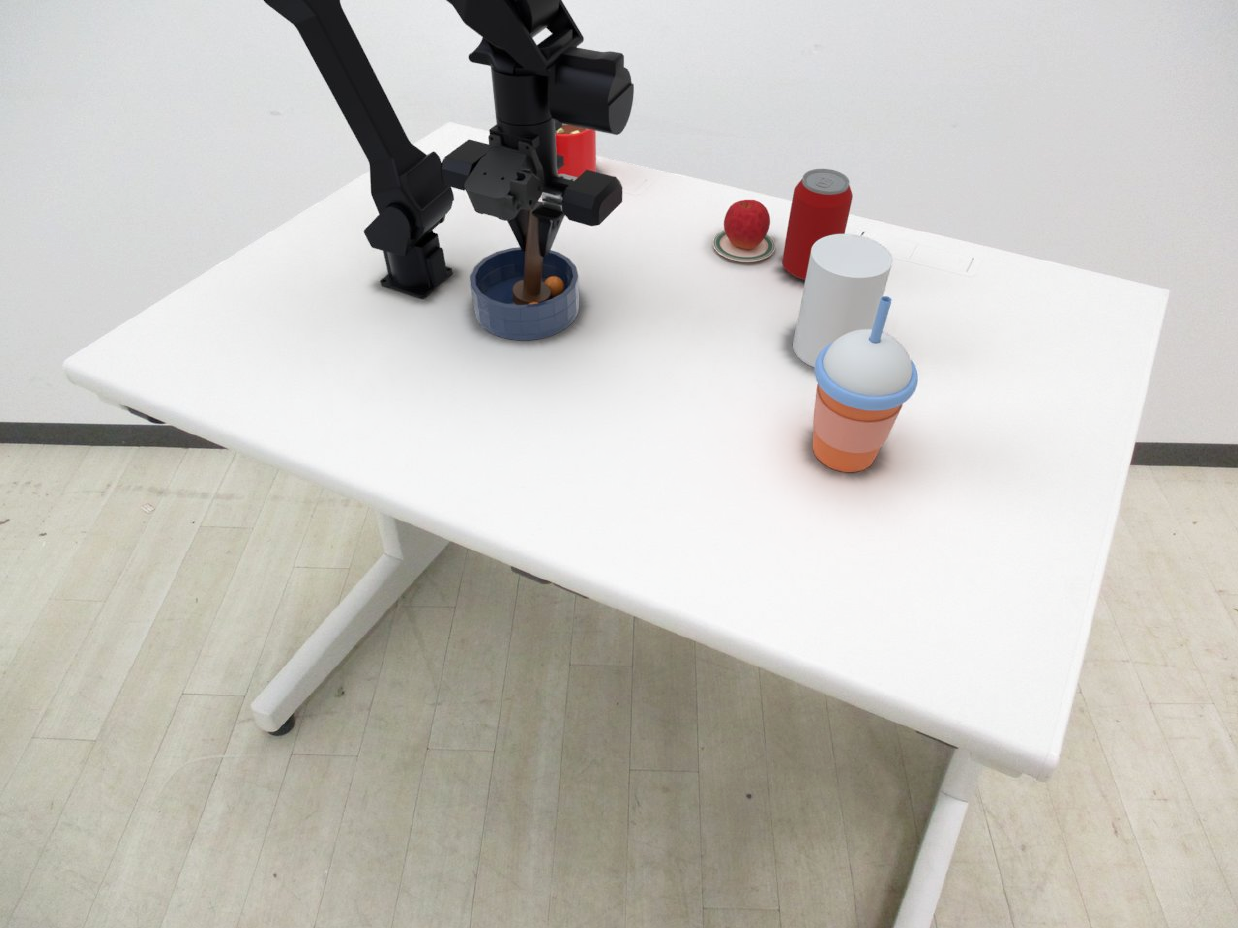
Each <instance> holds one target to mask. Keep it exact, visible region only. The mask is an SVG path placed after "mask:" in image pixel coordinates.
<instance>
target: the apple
mask: <svg viewBox="0 0 1238 928" xmlns="http://www.w3.org/2000/svg"><path fill="white" fill-rule="evenodd" d="M770 225H771V216H770V213H769V210H768V208H767V207H766V206H765V204H763V203H762V202H760V201H759V200H755V199H743V200H737V201H736V202H734V203H732V204H730V206H729V208H728V209H727V211H726V213H725V215H724V219H723V229H722V230H721V231H719V232H717V233H716V234H715V236H714V237H713V239H712V247H713V249H714V251H716V252H717V254H718V255H720V256H722V257H723V258H726V259H729V260H731V261H734V262H742V263H753V262H759V261H763V260H765V259H768V258H769V257H771V256H772V255H773V254H774V252H775V250H776V242H775V240H774V238H773V237H772V236H770V234H768V232H769V229H770Z"/></svg>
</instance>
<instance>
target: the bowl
mask: <svg viewBox="0 0 1238 928" xmlns="http://www.w3.org/2000/svg"><path fill="white" fill-rule="evenodd" d="M524 266H525V252H523V251H522V250H521V248H520V246H518V247H510V248H507V249H503V250H499V251H496V252H494V253H492V254H489V255H487V256H486V257H484V258H482V259H481V260H480V261H479V262H478V263H476V264H475V265H474V267H473V269H472V270H471V273H470V275H469V283H470V284H469V285H470V292H471V298H472V305H473V312H474V316H475V319H476V321H477V323H478V324H479V325H480V326H481V327H482V328H483V329H484V330H485V331H486V332H488V333H490V334H492V335H494V336H497V337H498V338H502V339H506V340H513V341H533V340H534V341H535V340H542V339H545V338H548V337H551V336H555V335H556V334H559V333H560V332H563V331H564V330H566V329H567V328H569V326H570V325H571V324H572V323H574V321H575V320H576V318H577V316H578V314H579V309H580V289H579V288H580V286H579V283H580V282H579V273H578V269H577V266H576V265H575V264H574V263H573V261H572V260H571V259H570V258H568V257H567V256H566V255H563V254H562V253H561V252H558V251H557V250H556V251H555V250H553V249H551V250H550V253H549V254H548V255H547V256H546V257H545V258H544V257H543V267H542V280H541V281H542V282H545V281H546V279H547V278H549V277H551V276H556V277H559V278H560V279H561V280H562V281H563V283H564V291H563V293H562V294H560V295H558V296H556V297H551V298H550V300H547V301H544V302H540V303H537V304H528V305H516V304H515V303H514V302H513V299H512V289H513V286H514V285H515V284H516V283H517V282H519V281H521V280H524Z"/></svg>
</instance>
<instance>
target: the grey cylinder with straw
mask: <svg viewBox="0 0 1238 928" xmlns="http://www.w3.org/2000/svg"><path fill="white" fill-rule="evenodd" d="M892 301H893V300H892V298H891V297H890V296H887V295H883V297H881V300H880V304H879V307H878V311H877V315H876V318H875V322H874V325H873V329H862V330H856V331H852V332H849V333H847V334H845V335H843V336H841V337H840V338H838V339H837V340H836V341H834V342H832V343H830V344H829V345H827V346H826V347H825V348H824V349H823V350H822V351H821V352H820V353H819V355H818V357H817V359H816V362H815V367H813V368H814V377H815V380H816V382H817V384H816V388H815V389H816V391H815V398H814V409H813V417H812V418H813V419H812V426H813V434H812V451H813V453H814V455H815V457H816V458H817V459H818V461H819V462H820V463H822V464H823V465H824V466H826V467H828V468H830V469H832V470H835V471H837V472H842V473H856V472H860V471H863V470H866V469H868V468H869V467H870V466H871V465H872V464H873V463H874V461H875V459H877V456H878V455H879V452H880V450H881V448H882V446H883V445H884V444H885V443H886V441H887V440H888V438H889V435H890V433H891V431H892V429H893V427H894V425H895V423H896V421H897V419H898V416H899V414H900V412H901V410H902V408H903V405H904V404H905V403H907V401H908V400H909V399H911V397H912V396H913V395H914V393H915V391H916V389H917V387H918V382H919V381H918V380H919V378H918V377H919V376H918V375H919V374H918V370H917V367H916V365H915V363H914V361H912V358H911V357H910V355H909V353H908V351H907V349H906V347H905V346H904V345H903V344H902V343H901V342H900V341H899V340H898V339H897V338H895V337H894V336H893V335H891V334H889V333H888V332H885V331H884V329H885V326H886V321H887V319H888V314H889V311H890V307H891V304H892Z"/></svg>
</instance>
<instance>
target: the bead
mask: <svg viewBox="0 0 1238 928" xmlns="http://www.w3.org/2000/svg"><path fill="white" fill-rule="evenodd" d="M544 283H545V284H547V285H548V286H549V288H550V290H551V297H556V296H558V295H560V294H562V293H563V291H564V283H563V281H562V280H561V279H560V278H559V277H556V276H551V277H549V278H547V279H546V281H545V282H544Z"/></svg>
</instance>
